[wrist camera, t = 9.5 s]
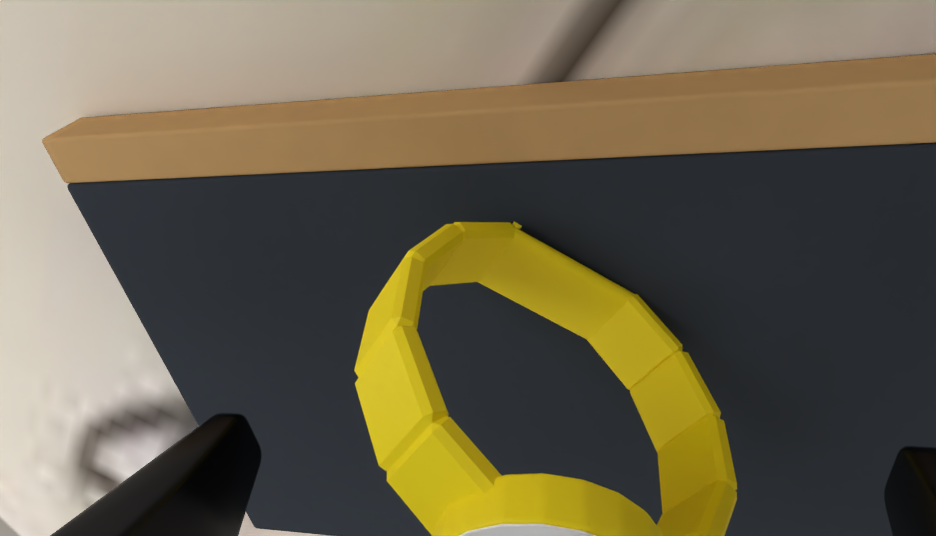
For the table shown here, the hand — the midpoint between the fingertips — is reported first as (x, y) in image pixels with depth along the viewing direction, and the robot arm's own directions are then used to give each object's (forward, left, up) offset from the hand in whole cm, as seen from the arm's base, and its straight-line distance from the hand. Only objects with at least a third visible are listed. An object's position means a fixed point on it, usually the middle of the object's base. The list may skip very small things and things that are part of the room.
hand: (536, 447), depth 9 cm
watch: (0, 0, -4) cm, 4 cm away
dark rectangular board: (0, +3, -5) cm, 6 cm away
